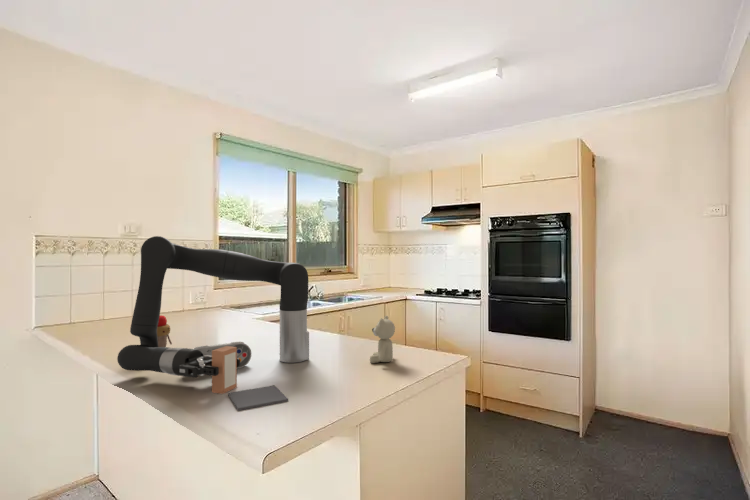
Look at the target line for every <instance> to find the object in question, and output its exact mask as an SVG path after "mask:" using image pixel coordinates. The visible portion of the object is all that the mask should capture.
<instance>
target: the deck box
mask: <svg viewBox="0 0 750 500" xmlns="http://www.w3.org/2000/svg"><path fill="white" fill-rule="evenodd" d="M212 366H216V367H218V368H219V374H218V375H217V376H212V375H211V392H212V393H213V394H214V393H215V394H221V395H224V394H226V393H229V391H232V390H234V389H236V388H237V385H238V383H237V378H238V374H237V373H238V372H237V371H238V370H237V369H238V368H237V347H231V346H225V347H222V348H218V349H215V350H212Z"/></svg>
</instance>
